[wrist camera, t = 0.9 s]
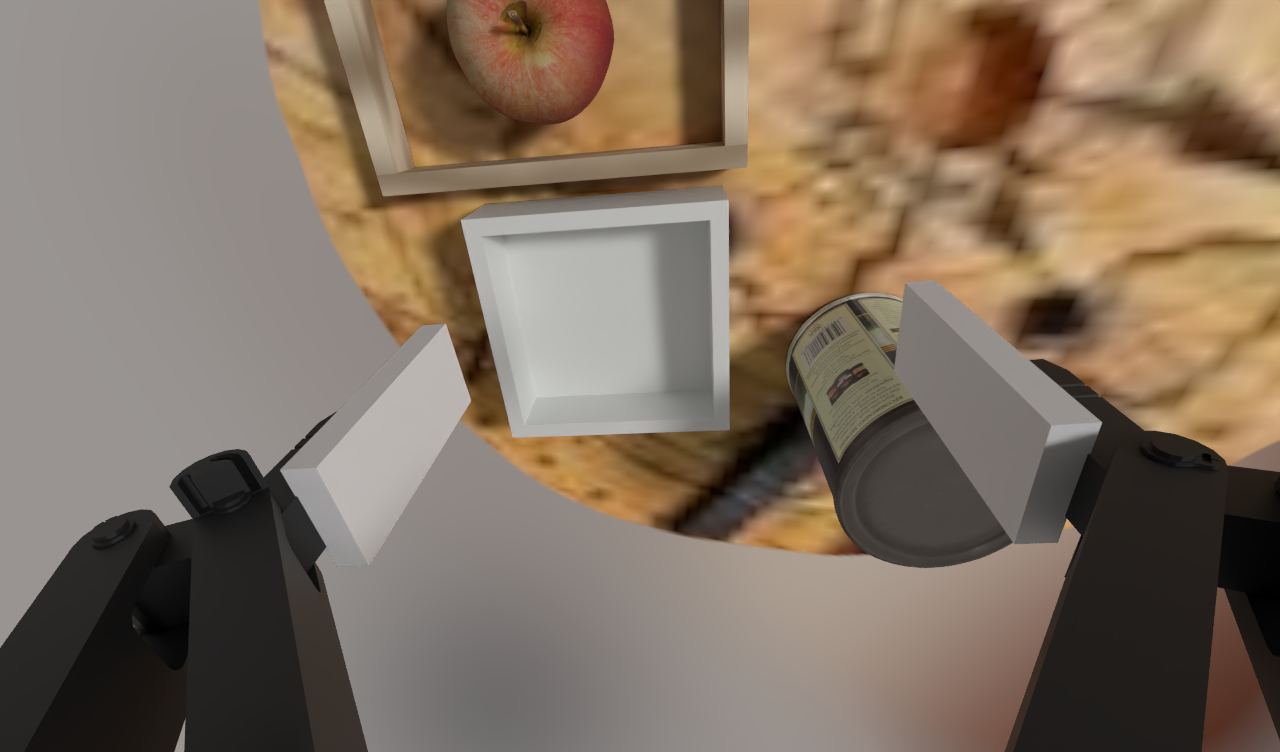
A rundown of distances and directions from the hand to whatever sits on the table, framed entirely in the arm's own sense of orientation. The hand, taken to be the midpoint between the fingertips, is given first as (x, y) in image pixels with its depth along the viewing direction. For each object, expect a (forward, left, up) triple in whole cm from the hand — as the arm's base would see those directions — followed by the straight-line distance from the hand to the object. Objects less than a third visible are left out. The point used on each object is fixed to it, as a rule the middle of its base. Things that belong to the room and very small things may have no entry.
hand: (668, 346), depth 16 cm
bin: (+7, -4, -21) cm, 22 cm away
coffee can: (+12, +13, -21) cm, 27 cm away
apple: (-9, -6, -21) cm, 24 cm away
